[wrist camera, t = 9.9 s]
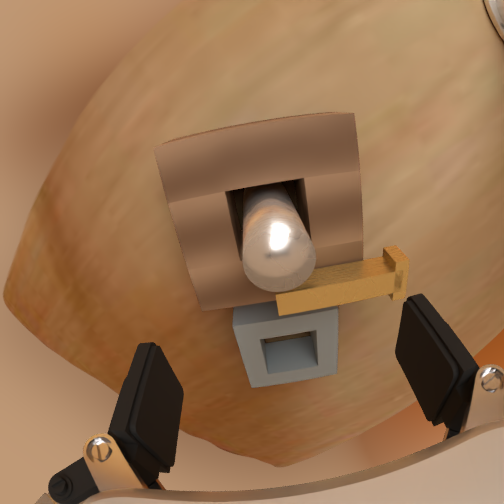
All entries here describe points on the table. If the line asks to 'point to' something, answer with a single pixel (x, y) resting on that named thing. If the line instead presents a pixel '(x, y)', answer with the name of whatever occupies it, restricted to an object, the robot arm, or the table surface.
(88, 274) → the table surface
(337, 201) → the socket block
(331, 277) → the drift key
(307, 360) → the grey square ring block
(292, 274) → the steel peg
